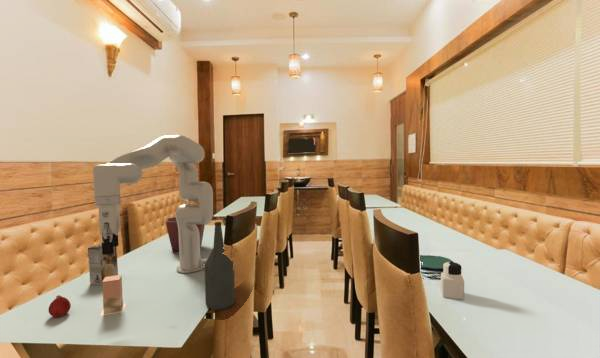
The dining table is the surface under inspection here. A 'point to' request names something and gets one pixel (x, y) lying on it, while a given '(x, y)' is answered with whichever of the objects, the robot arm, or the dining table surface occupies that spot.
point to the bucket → (174, 233)
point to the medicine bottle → (452, 281)
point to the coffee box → (101, 264)
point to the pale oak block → (112, 304)
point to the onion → (59, 306)
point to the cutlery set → (433, 263)
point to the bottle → (219, 275)
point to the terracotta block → (112, 286)
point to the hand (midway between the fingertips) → (110, 250)
